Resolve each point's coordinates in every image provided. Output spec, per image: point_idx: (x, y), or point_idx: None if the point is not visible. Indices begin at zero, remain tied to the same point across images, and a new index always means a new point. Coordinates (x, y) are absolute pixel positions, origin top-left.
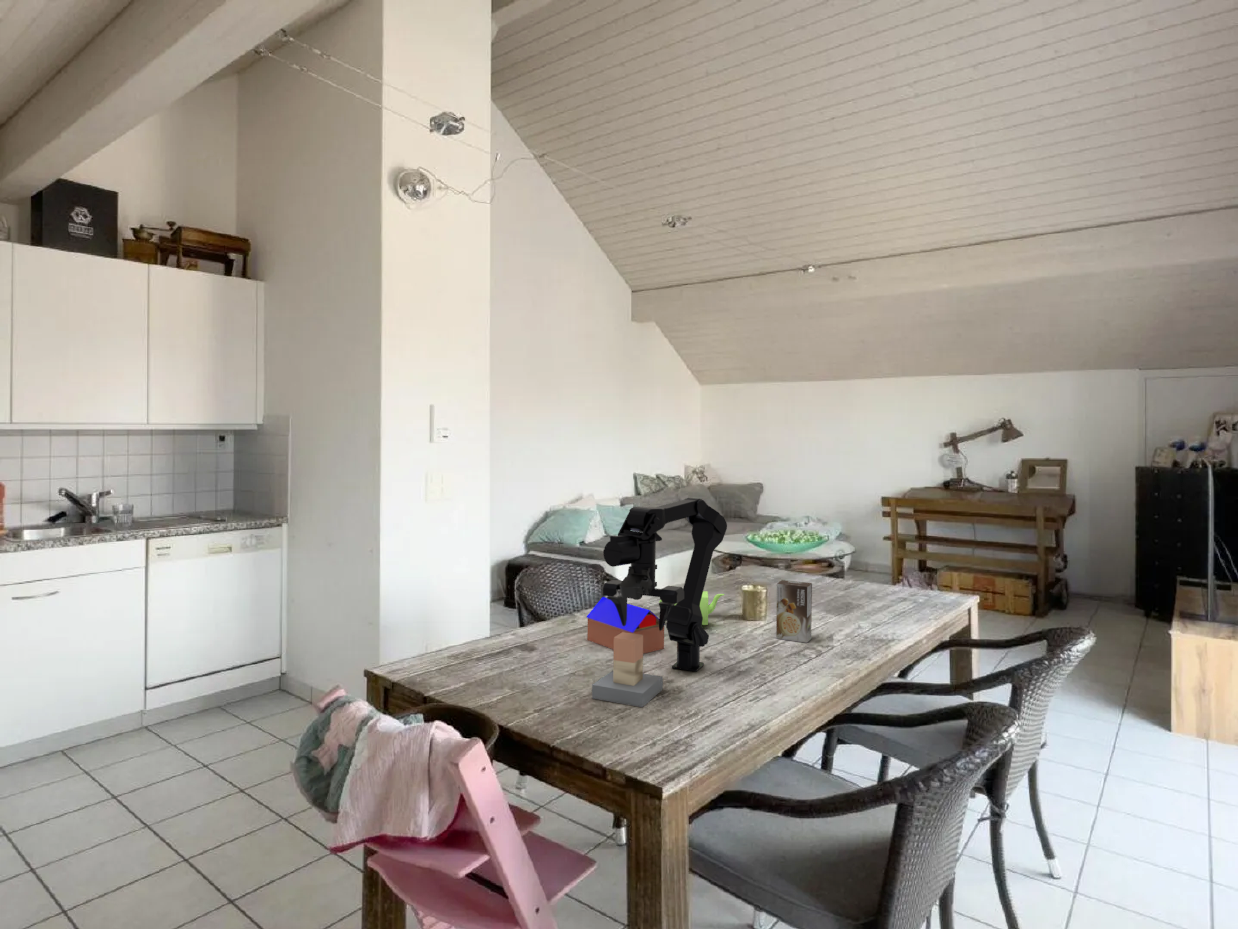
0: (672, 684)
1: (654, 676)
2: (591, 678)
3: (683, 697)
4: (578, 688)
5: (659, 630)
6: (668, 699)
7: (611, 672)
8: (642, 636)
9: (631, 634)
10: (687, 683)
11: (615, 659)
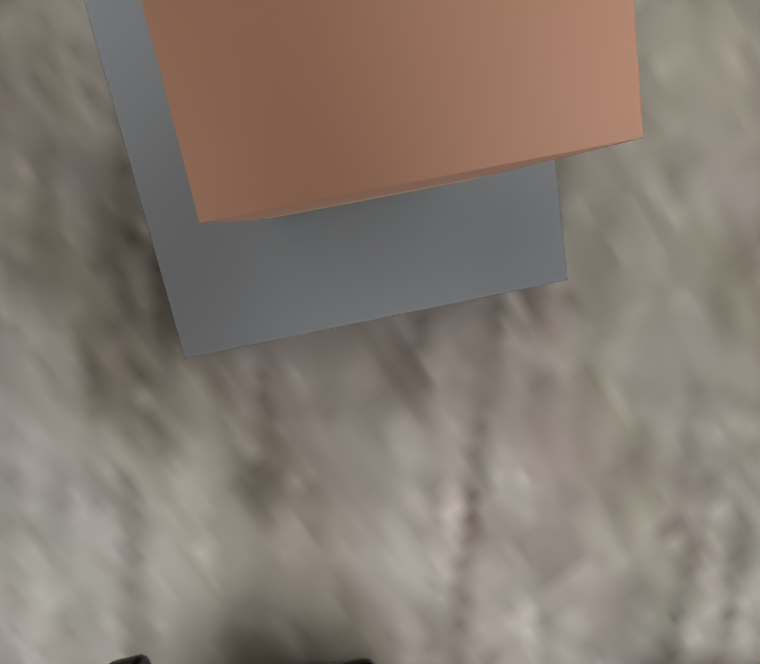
0: (213, 452)
1: (234, 321)
2: (679, 230)
3: (11, 302)
4: (658, 18)
5: (140, 656)
6: (64, 209)
7: (547, 196)
8: (198, 191)
9: (412, 93)
10: (151, 521)
11: None
